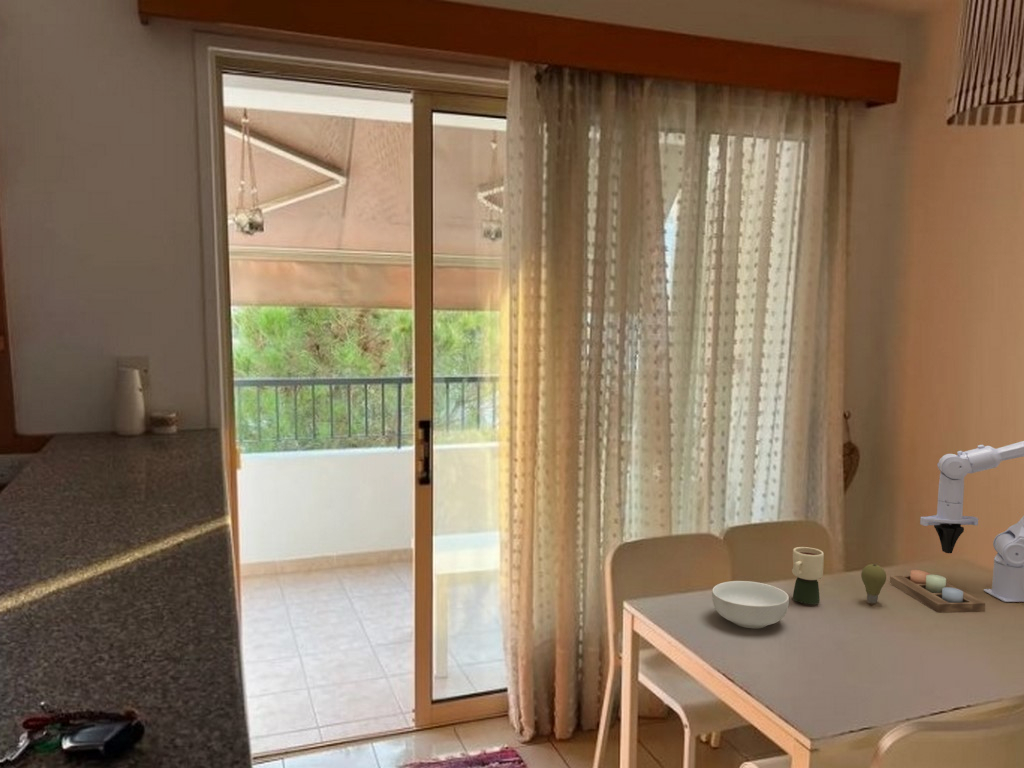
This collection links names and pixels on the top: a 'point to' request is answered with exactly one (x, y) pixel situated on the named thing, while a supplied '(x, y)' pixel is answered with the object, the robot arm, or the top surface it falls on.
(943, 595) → the grey rounded piece
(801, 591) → the character mug
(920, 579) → the orange rounded lump
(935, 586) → the sage button
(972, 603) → the wooden compartment tray
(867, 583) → the light bulb
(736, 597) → the cereal bowl
